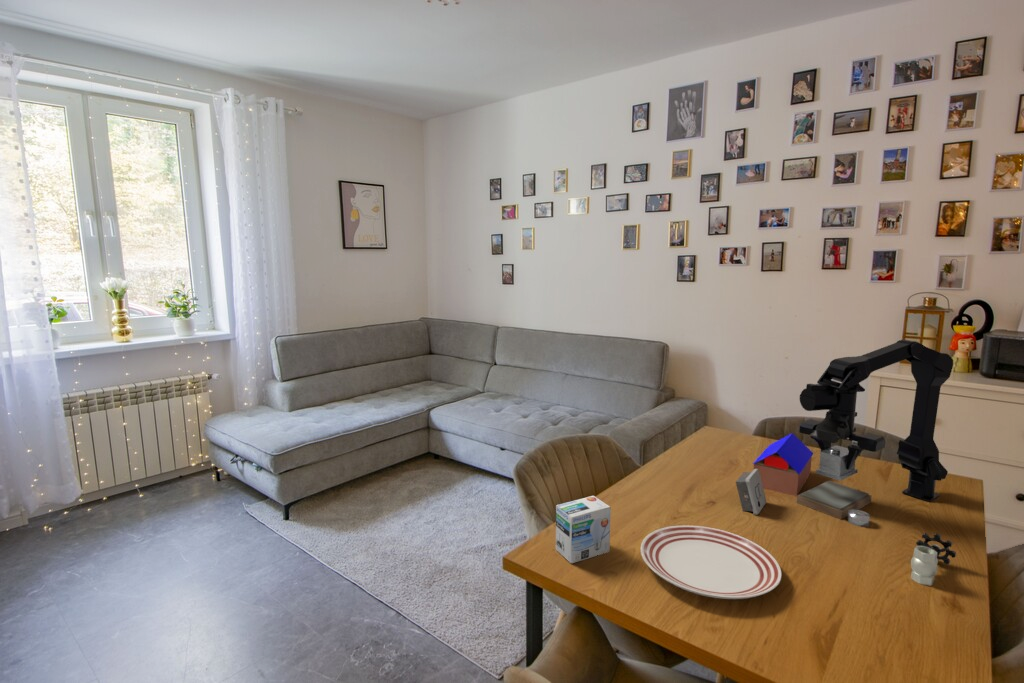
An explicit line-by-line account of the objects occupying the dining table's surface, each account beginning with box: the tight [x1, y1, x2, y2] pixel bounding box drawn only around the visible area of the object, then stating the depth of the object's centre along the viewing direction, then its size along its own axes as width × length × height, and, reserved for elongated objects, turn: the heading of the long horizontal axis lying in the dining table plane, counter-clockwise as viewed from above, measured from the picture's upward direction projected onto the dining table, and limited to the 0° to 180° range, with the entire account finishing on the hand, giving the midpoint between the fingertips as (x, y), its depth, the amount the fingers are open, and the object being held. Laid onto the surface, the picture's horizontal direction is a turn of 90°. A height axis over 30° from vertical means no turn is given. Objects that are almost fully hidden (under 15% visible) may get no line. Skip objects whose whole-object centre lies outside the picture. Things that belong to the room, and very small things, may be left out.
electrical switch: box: [735, 468, 767, 516], centre depth 136 cm, size 9×5×9 cm, turn 141°
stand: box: [796, 480, 872, 520], centre depth 138 cm, size 16×11×2 cm
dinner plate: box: [640, 524, 782, 600], centre depth 109 cm, size 27×27×3 cm
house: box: [752, 432, 814, 497], centre depth 152 cm, size 12×20×12 cm, turn 141°
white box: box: [555, 495, 612, 564], centre depth 116 cm, size 11×7×11 cm, turn 117°
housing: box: [815, 445, 858, 482], centre depth 136 cm, size 9×6×7 cm, turn 123°
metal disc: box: [847, 509, 871, 528], centre depth 128 cm, size 4×4×2 cm
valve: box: [910, 532, 958, 587], centre depth 107 cm, size 7×7×12 cm
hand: (837, 465), depth 136 cm, fingers closed on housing, 5 cm apart
